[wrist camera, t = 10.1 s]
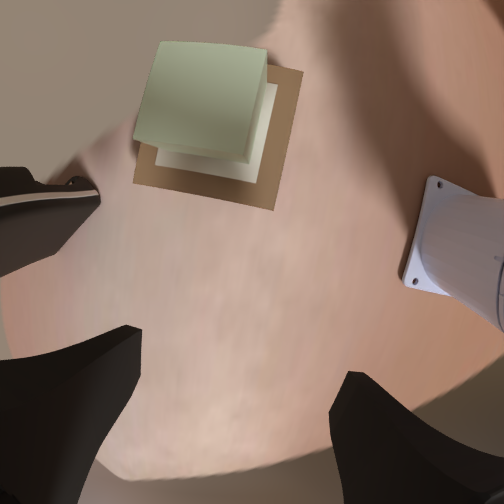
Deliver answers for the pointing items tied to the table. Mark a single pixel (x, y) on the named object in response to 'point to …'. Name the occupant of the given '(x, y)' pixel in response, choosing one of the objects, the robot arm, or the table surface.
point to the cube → (204, 99)
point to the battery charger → (39, 216)
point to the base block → (229, 172)
